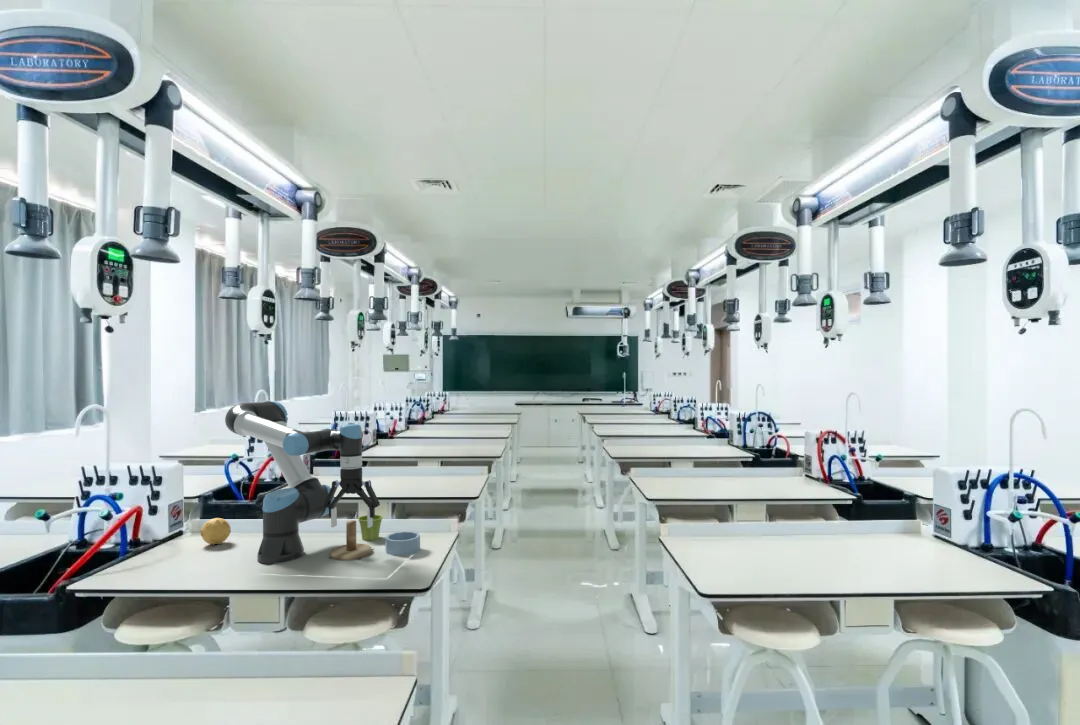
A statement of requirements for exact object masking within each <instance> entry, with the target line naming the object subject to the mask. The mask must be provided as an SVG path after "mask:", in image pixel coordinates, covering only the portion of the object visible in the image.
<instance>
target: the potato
mask: <svg viewBox="0 0 1080 725" xmlns="http://www.w3.org/2000/svg"><path fill="white" fill-rule="evenodd" d="M231 531H232V530H231V525H230V523H229V522H228V521H227V520H226V519H224V518H220V517H215V518H211V519H209V520H208V521H206V522H205V523H204V525H203V526H202V528H201V529H200V536H201V538H202V540H203V541H204V542H205V543H207V544H209V545H212V544H219V545H221V544H222V543H223V542H226V540H227V539H228V537H229V536H230V534H231Z"/></svg>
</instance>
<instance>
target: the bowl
mask: <svg viewBox="0 0 1080 725" xmlns="http://www.w3.org/2000/svg"><path fill="white" fill-rule="evenodd" d="M384 540H385V544H384V546H385V547H384V548H385V553H386V554H387V555H391V556H405V555H406V556H407V555H411V556H412V555H416V554H418V553H419V552H420V551H421V535H420V534H419V533H418V532H415V531H399V532H398V531H396V532H392V533H389V534H387V535H386V536H385V537H384Z"/></svg>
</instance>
